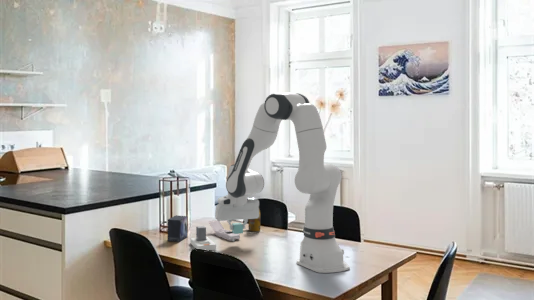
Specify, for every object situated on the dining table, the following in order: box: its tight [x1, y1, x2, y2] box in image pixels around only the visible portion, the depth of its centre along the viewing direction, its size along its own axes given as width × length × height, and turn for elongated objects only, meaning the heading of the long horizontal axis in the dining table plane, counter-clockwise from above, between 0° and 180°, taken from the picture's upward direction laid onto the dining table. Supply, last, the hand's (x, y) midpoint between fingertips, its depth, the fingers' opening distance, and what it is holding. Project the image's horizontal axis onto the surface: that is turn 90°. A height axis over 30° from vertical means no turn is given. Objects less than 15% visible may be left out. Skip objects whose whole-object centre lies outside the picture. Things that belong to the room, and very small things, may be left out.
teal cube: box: [231, 222, 244, 235], centre depth 239 cm, size 4×4×4 cm
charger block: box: [195, 225, 207, 241], centre depth 238 cm, size 4×4×8 cm
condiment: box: [243, 207, 264, 234], centre depth 266 cm, size 7×8×12 cm
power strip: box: [190, 236, 217, 251], centre depth 235 cm, size 16×8×3 cm, turn 20°
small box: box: [167, 214, 188, 243], centre depth 249 cm, size 11×6×10 cm, turn 168°
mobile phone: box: [208, 219, 241, 242], centre depth 255 cm, size 6×6×25 cm
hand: (237, 229), depth 239 cm, fingers closed on teal cube, 4 cm apart
